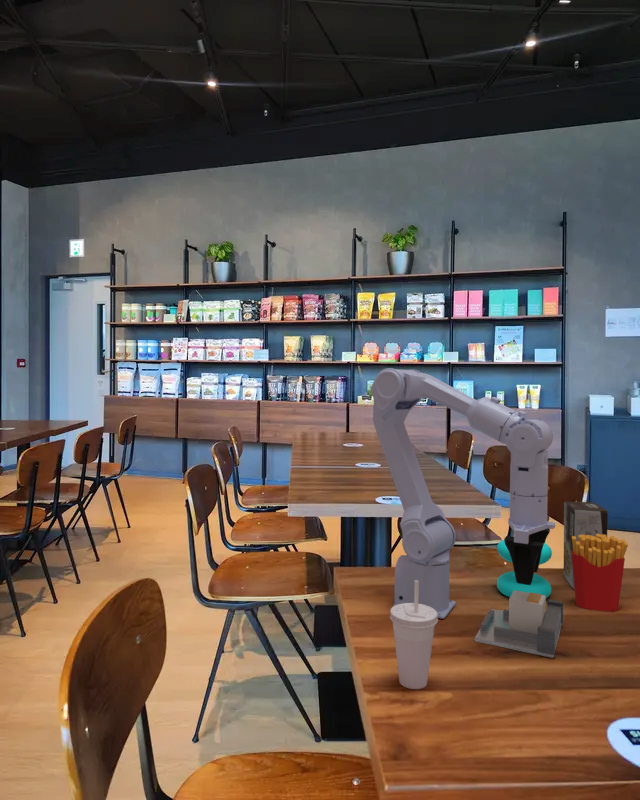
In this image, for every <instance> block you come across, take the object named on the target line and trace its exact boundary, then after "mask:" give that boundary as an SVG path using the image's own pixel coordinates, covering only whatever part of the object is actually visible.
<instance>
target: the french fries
mask: <svg viewBox="0 0 640 800" xmlns="http://www.w3.org/2000/svg"><path fill="white" fill-rule="evenodd" d="M572 543H573V551H571V557H572V568H573V579H574V589H573V591H574V599H575V604H576V606H577V607H579V608H582V609H585V610H592V611H601V612H610V613H611V612H616V611H619V605H620V598H621V591H622V590H621V589H622V584H623V575H624V569H625V568H624V567H625V561H626V558H625V555H626V552H627V549H628V546H629V545H628V542H627V541H626V540H625V539H622V538H621V539H619V538H618V537H615V536H614V535H610V536H609V537H608V536H607V537H606V535H600V534H596V537H595V536H590V535H586V536H585V535H582V534H581V535H579V541H576V536H572Z"/></svg>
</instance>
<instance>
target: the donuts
mask: <svg viewBox="0 0 640 800" xmlns="http://www.w3.org/2000/svg"><path fill="white" fill-rule="evenodd" d="M496 549H497V552H498V555H499V556H500V557H501V558H502V559H503V560H505V561H506V562H507V561H508V562H509V563H512V559H511V556H510V553H509V551H508V549H507V547H506V545H505V542H504V539H501V540H500V541H499V542H498V544H497V546H496ZM552 556H553V551H552V548H551V547H550V545H548V544H547V543H545V542H544V545H543V548H542V553H541V558H540V563H539V566H541V565H543V564H546V563H547V562H549V561H550V560H551V558H552ZM512 564H513V563H512ZM496 587H497V590H498V592H500V593H501V594H502V595H504V596H506V597H507V598H510V597H511V595H512V593H513V591H514V590H515V591H521V592H527V593H536V594H542V595H545V596H546V599H547V598H548V597H550V595H551V593H552V585H551V583H550V582H549V581H548V580H547V579H546V578H545V577H543V576H542V575H539V574H537V573H536V572H534V575H533V580H532V583H531V585H525V584H519V583H517V581H516V578H515V573H514V570H510V571H507V572H504V573H502V574H501V575H500V576H499V577H498V578H497V581H496Z"/></svg>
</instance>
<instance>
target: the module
mask: <svg viewBox="0 0 640 800" xmlns="http://www.w3.org/2000/svg"><path fill="white" fill-rule="evenodd" d="M546 600H547V598H546V596H545V595H542V594H536V593H527V592H521V591H515V590H514V591H513V593H512V595H511V597H509V599H508V610H509V629H512V630H517V631H522V632H527V633H532V634H537V629H538V627H541V625H542V622H543V619H544V616H545V613H546V610H547V601H546Z"/></svg>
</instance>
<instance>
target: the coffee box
mask: <svg viewBox="0 0 640 800" xmlns="http://www.w3.org/2000/svg"><path fill="white" fill-rule="evenodd" d="M563 505H564V506H563V515H564V516H563V577H564V578H565V580H566V581H567V583H568V584H569V586H571V588H572V590H574V579H573V568H572V557H571V551H573V543H572V536H576V541H579V535H581V534H582V535H585V536H586V535H590V536H595V537H596V534H600V535H606V537H608V523H609V522H608V519H609V517H608V516H609V514H608V513H609V510H607V509H605V508H604V507H602V506H601V505H600V504H598V503H596V502H593V501H592V502H591V501H574V502H573V501H564V502H563Z"/></svg>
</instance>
